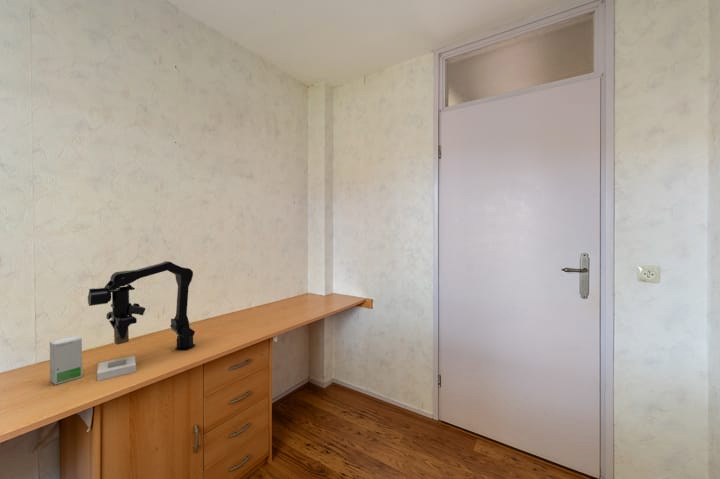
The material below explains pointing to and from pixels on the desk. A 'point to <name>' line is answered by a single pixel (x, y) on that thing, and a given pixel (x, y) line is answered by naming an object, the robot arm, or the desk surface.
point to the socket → (116, 368)
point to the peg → (118, 339)
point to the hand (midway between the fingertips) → (121, 337)
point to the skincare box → (65, 359)
